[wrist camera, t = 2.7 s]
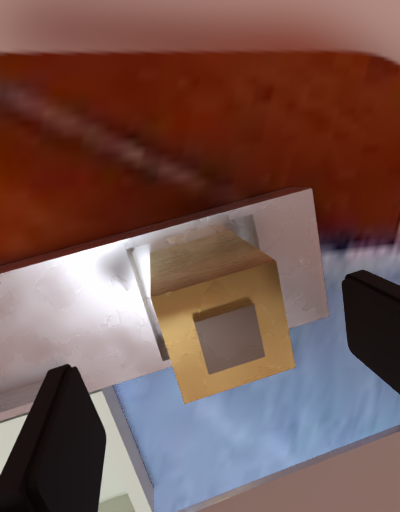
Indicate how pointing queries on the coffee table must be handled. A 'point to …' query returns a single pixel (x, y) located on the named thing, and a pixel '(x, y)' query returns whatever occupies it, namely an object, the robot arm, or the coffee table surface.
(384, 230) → the coffee table surface
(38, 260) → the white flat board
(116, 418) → the tray
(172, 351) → the block
